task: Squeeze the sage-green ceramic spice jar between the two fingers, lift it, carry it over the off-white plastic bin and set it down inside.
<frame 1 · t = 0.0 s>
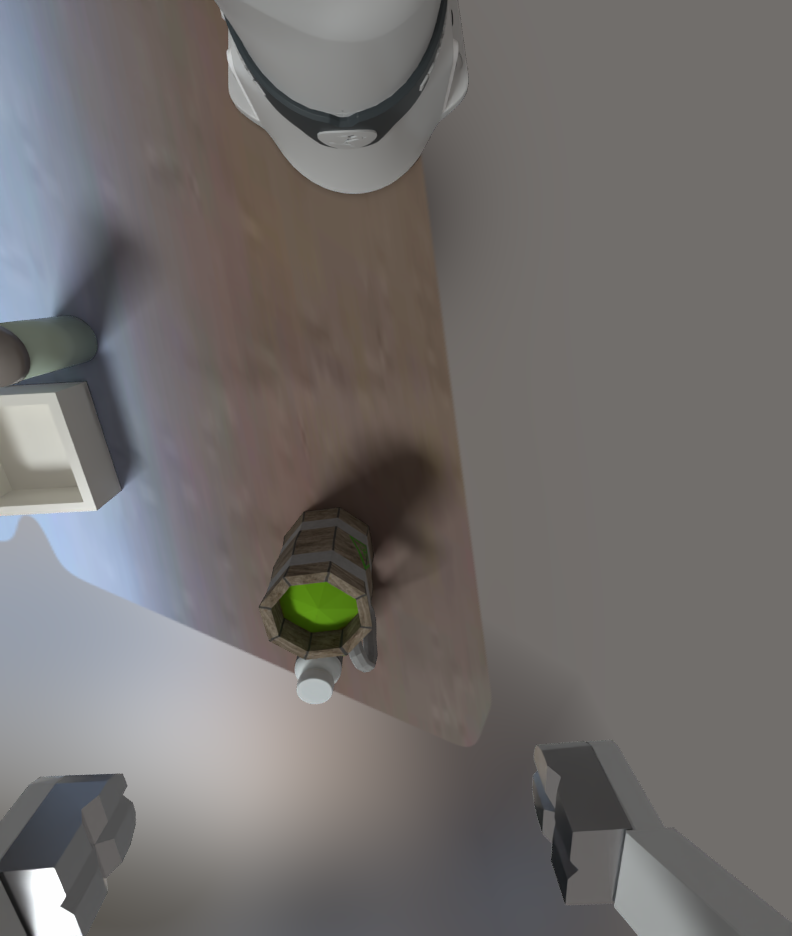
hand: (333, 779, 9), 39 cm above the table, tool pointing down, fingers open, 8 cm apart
mug: (340, 560, 53), on the table
spice jar: (73, 339, 42), on the table
pill bottle: (324, 625, 57), on the table
bin: (46, 441, 46), on the table
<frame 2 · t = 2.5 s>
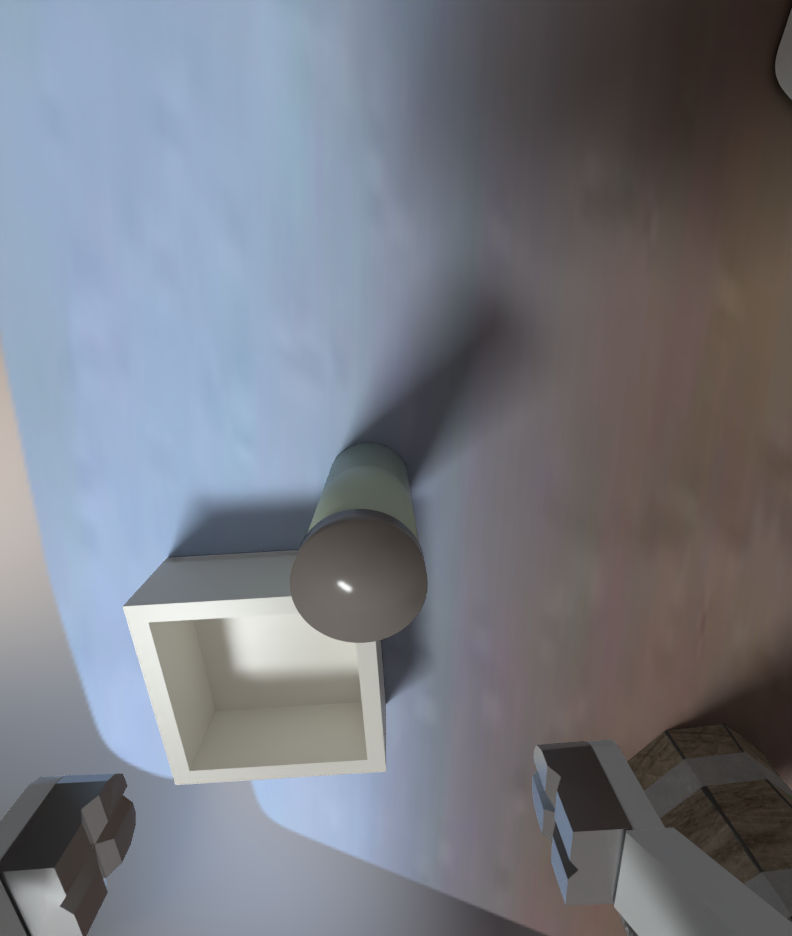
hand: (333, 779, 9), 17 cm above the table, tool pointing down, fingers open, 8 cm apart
mug: (696, 795, 33), on the table
spice jar: (368, 481, 24), on the table
bin: (284, 636, 27), on the table
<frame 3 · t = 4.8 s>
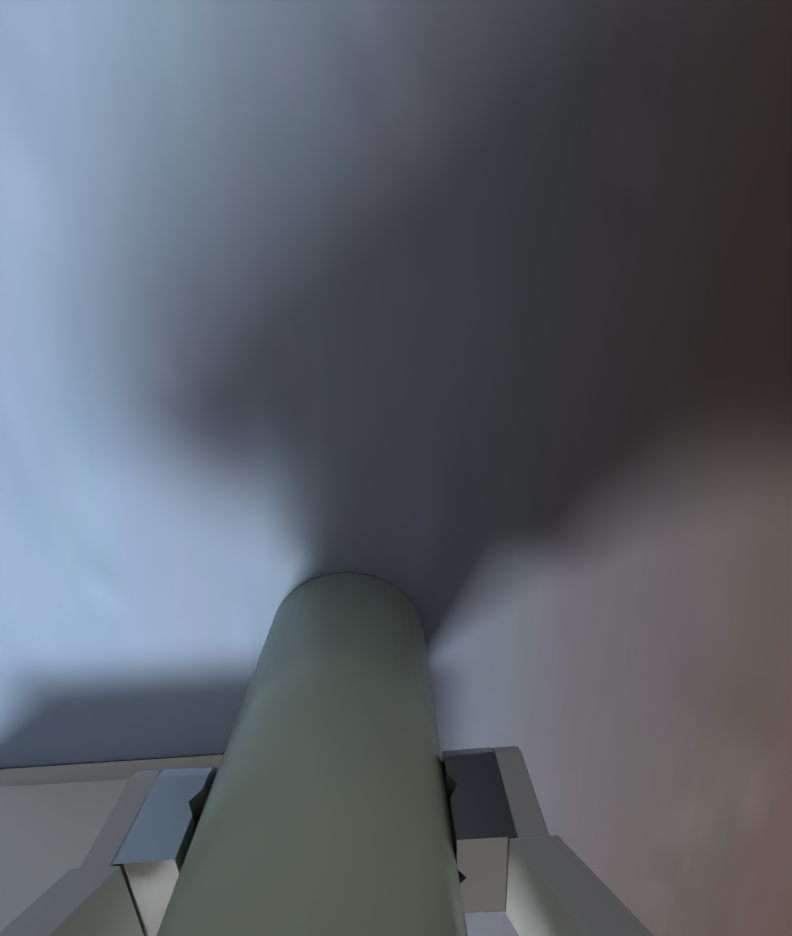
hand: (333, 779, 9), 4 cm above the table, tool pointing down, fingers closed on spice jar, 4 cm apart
spice jar: (347, 640, 13), on the table, touching gripper
bin: (201, 885, 16), on the table
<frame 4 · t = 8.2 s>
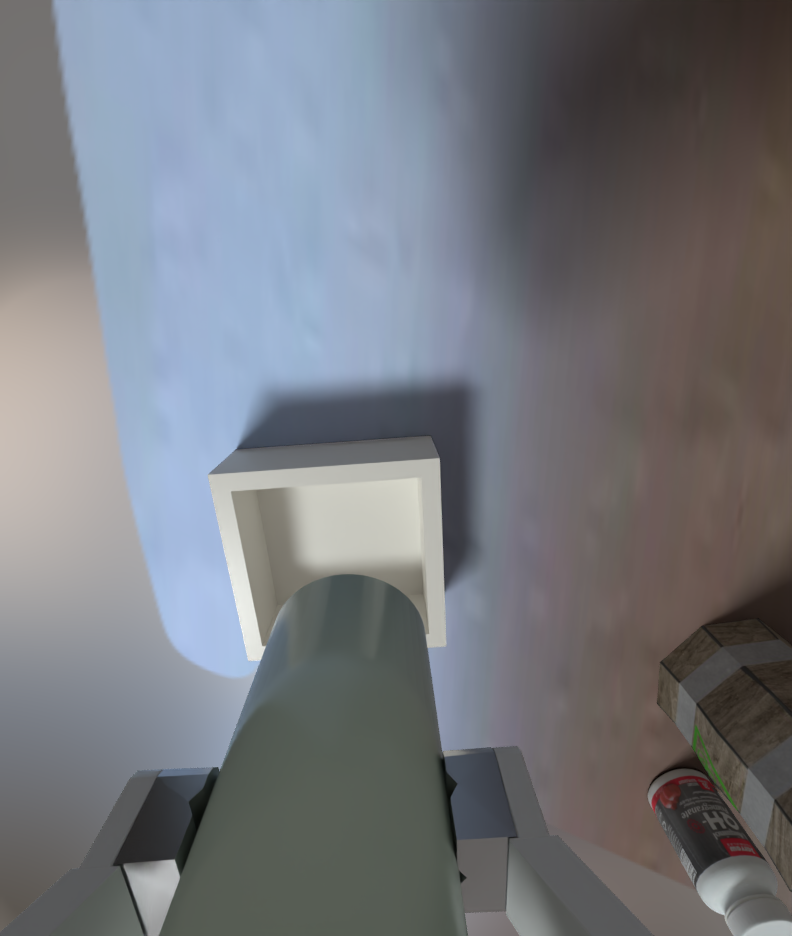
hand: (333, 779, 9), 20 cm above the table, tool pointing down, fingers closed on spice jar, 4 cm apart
mug: (729, 693, 35), on the table
spice jar: (349, 641, 13), point 16 cm above the table, touching gripper
pill bottle: (674, 785, 38), on the table
bin: (343, 529, 29), on the table
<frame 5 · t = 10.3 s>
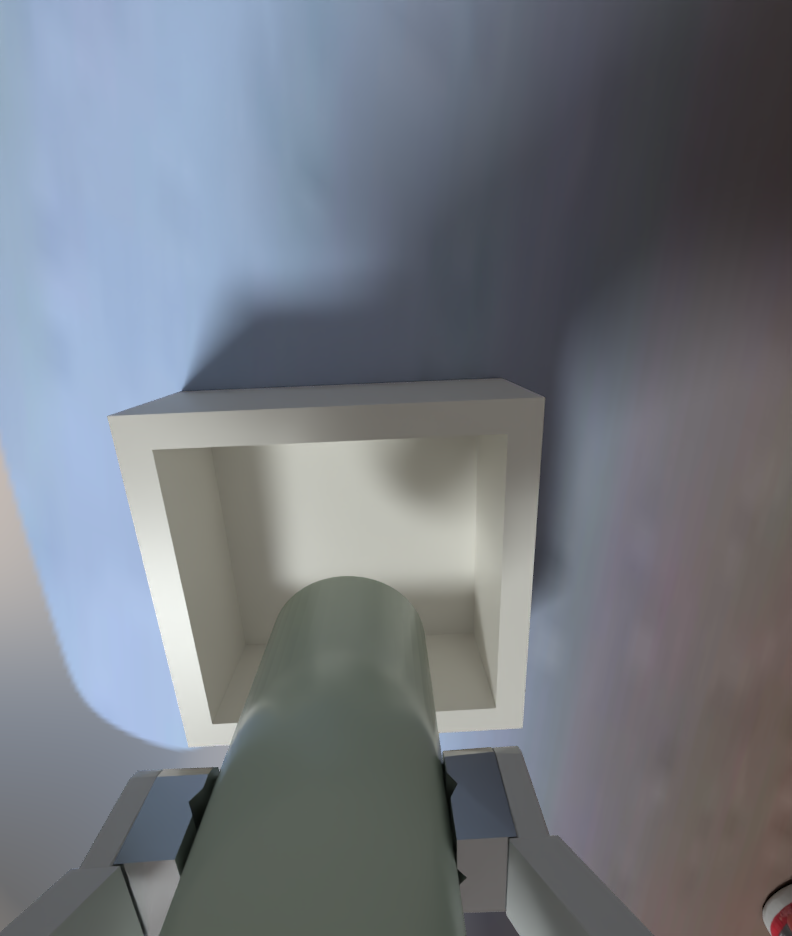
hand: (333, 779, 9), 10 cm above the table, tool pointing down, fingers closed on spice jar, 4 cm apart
spice jar: (349, 643, 13), point 6 cm above the table, touching gripper
bin: (353, 529, 18), on the table
when the fingers open (7 cm above the table, at t = 11.8 s): spice jar drops 2 cm, resting on bin.
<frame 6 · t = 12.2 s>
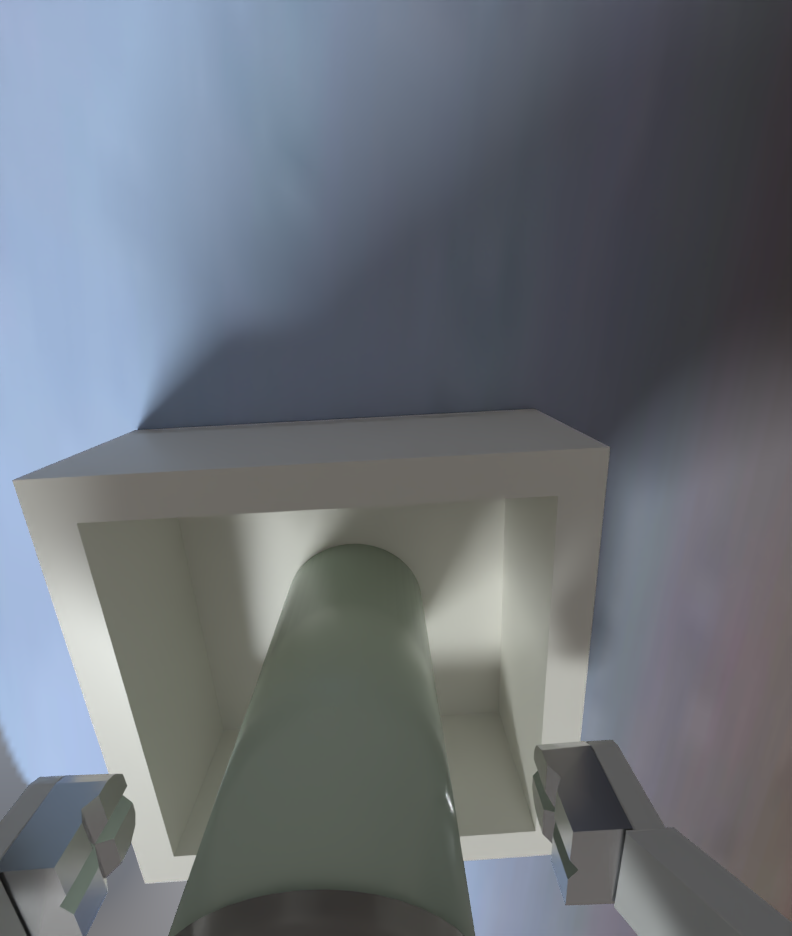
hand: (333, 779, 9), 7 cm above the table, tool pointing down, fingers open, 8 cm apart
spice jar: (355, 604, 14), point 1 cm above the table, touching bin
bin: (352, 592, 15), on the table
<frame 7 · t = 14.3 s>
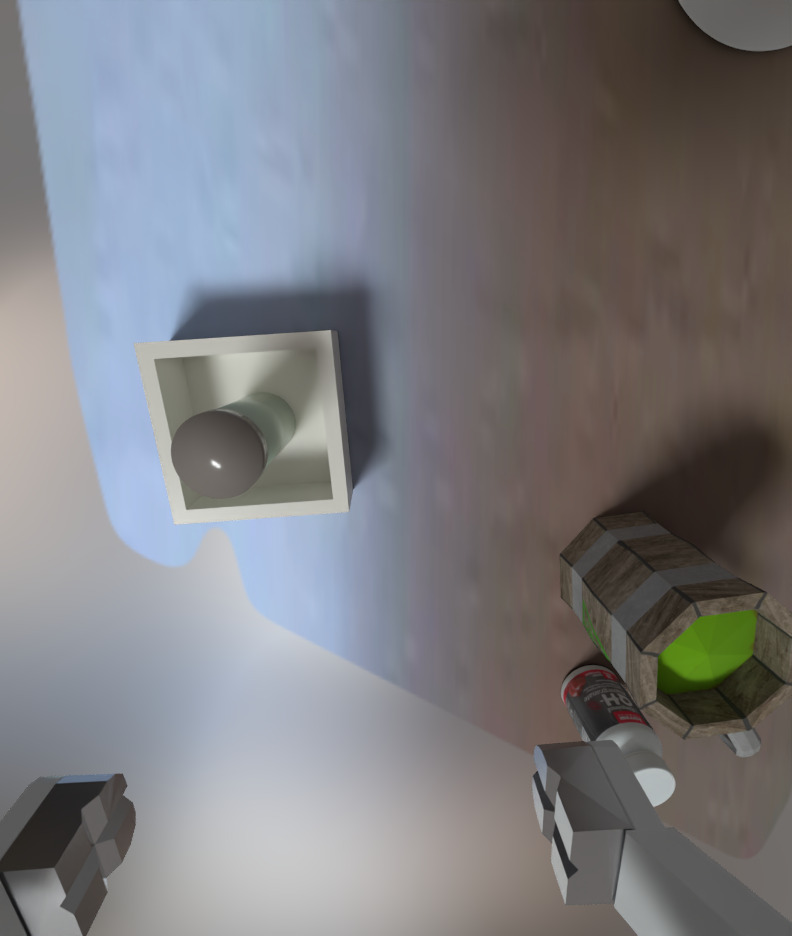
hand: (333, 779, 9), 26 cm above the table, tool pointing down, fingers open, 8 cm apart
mug: (627, 588, 38), on the table
spice jar: (265, 422, 32), point 1 cm above the table, touching bin
pill bottle: (586, 684, 41), on the table
bin: (265, 420, 33), on the table
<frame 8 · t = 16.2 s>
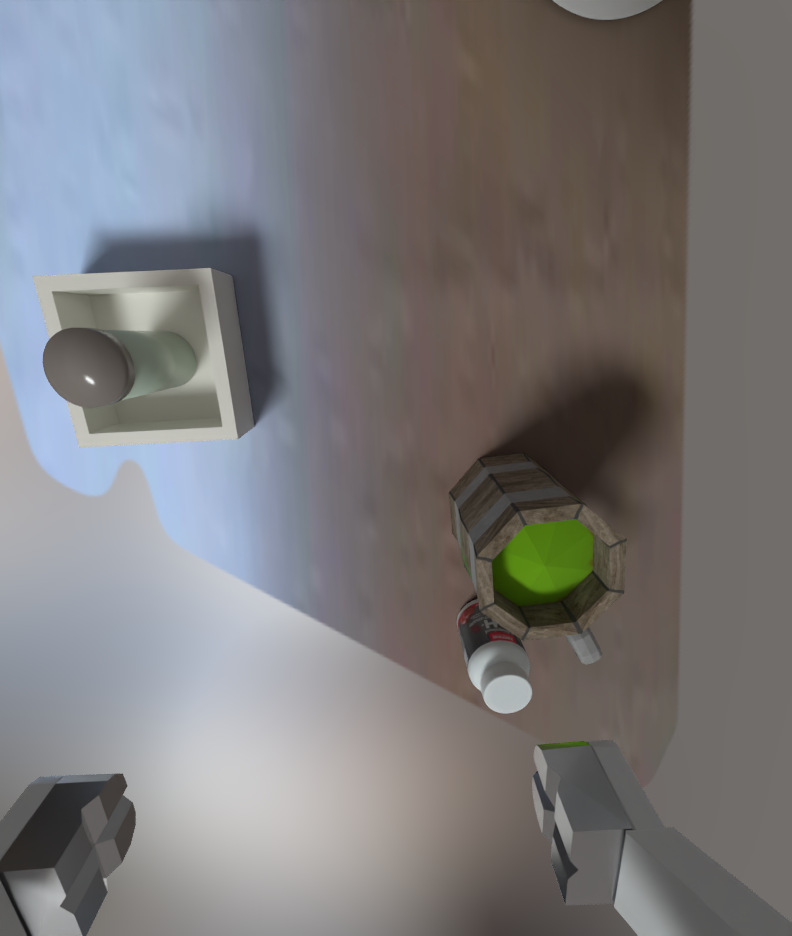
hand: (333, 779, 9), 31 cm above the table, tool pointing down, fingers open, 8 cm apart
mug: (514, 526, 42), on the table
spice jar: (168, 359, 35), point 1 cm above the table, touching bin
pill bottle: (481, 617, 45), on the table
bin: (170, 358, 36), on the table
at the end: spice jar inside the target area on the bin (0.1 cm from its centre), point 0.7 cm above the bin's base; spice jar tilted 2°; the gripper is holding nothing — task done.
